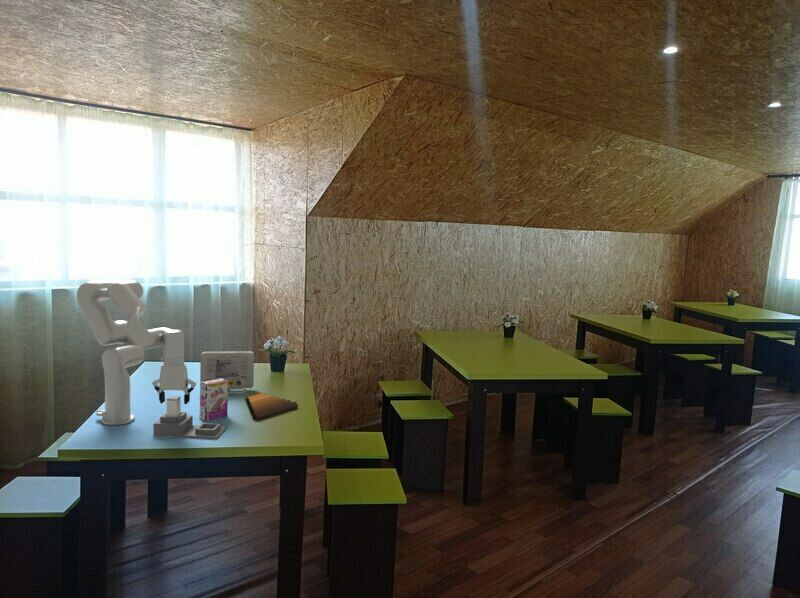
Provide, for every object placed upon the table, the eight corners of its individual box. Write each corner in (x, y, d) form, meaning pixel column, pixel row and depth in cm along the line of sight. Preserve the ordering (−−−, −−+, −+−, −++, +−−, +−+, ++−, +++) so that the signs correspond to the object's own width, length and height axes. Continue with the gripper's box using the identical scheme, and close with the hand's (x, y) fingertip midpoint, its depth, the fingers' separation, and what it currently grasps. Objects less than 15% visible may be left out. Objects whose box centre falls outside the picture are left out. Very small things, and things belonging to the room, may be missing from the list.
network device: (253, 388, 303) (253, 350, 301) (253, 393, 295) (254, 354, 293) (201, 389, 297) (201, 350, 294) (199, 394, 288) (200, 354, 286)
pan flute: (257, 422, 254) (298, 409, 274) (257, 414, 253) (298, 402, 274) (219, 410, 267) (260, 398, 288) (219, 403, 267) (260, 392, 288)
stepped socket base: (153, 435, 230) (153, 418, 230) (166, 425, 242) (166, 409, 242) (216, 439, 230) (216, 421, 229) (226, 428, 242) (226, 412, 241)
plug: (166, 420, 234) (166, 398, 233) (170, 417, 238) (170, 395, 237) (176, 421, 234) (176, 399, 233) (180, 418, 238) (180, 396, 237)
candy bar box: (205, 422, 249) (206, 384, 247) (199, 419, 252) (199, 382, 250) (228, 416, 258) (228, 379, 256) (221, 413, 261) (222, 377, 259)
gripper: (148, 362, 229) (148, 404, 231) (192, 363, 229) (192, 406, 231) (156, 358, 237) (157, 399, 239) (198, 359, 237) (199, 401, 238)
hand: (174, 402), depth 235 cm, fingers open, 9 cm apart
